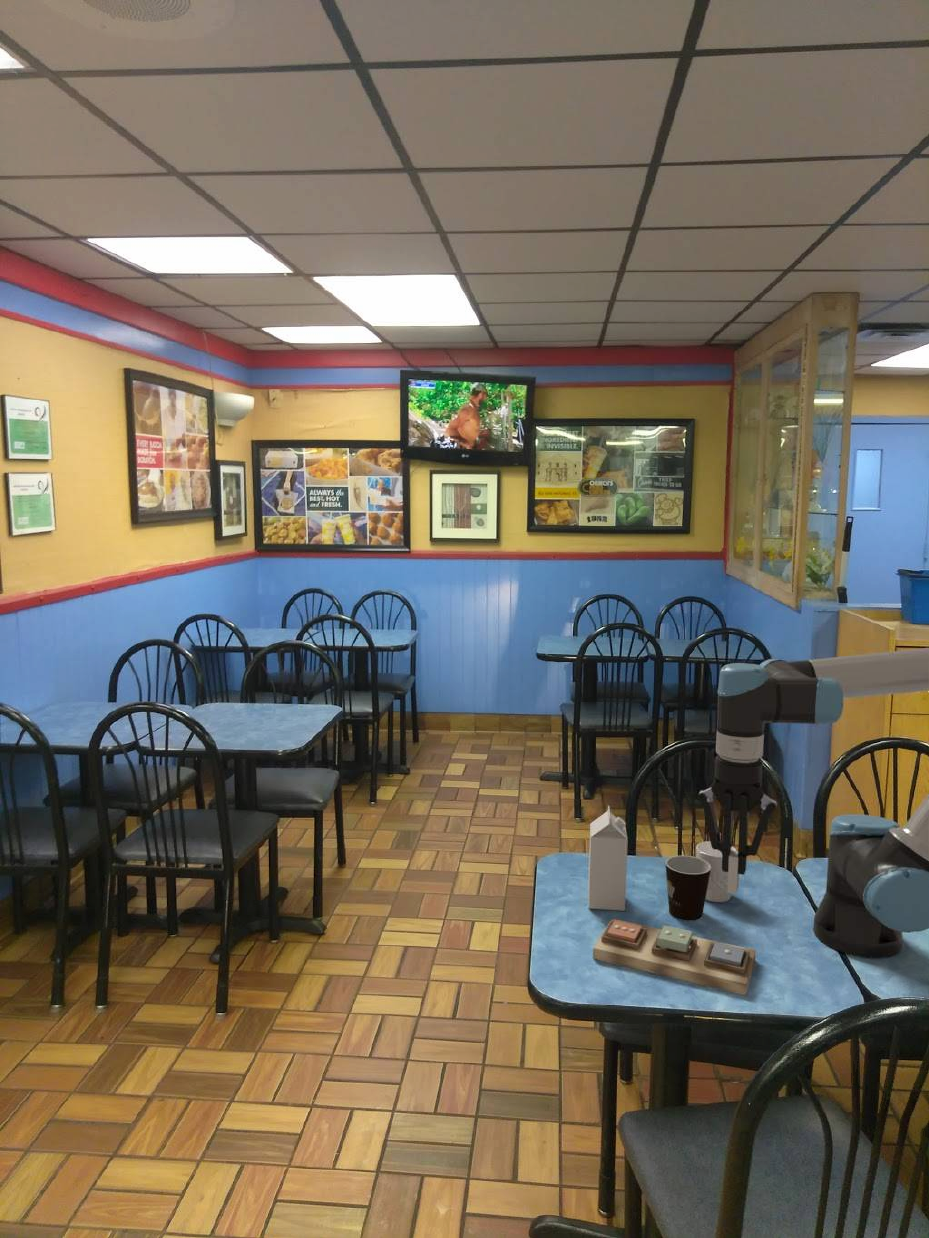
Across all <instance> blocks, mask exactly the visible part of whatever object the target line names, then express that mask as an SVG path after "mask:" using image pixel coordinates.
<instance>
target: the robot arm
mask: <svg viewBox="0 0 929 1238" xmlns="http://www.w3.org/2000/svg"><path fill="white" fill-rule="evenodd" d="M920 692H921V693H923V692H929V647H924V648H913V649H903V650H894V651H883V652H874V653H866V654H865V653H864V654H863V653H862V654H855V655H847V656H846V655H844V656H835V657H826V658H816V659H808V660H795V661H786V660H784V659H781V658H780V659H778V658H769V659H767V660H764V661H763V662H761V663H760V664H756V663H746V662H732V663H728V664H725V665H724V666H722V667H721V669H720V671H719V679H718V688H717V721H716V722H717V725H716V736H715V737H716V739H715V753H716V754H717V755H716V756H715V761H714V779H713V781H712V784H711V785H710V787H709V788H707V789H700V791H699V793H698V794H697V800H698V801H699V802H700V804H701V806H702V808H703V812H704V818H705V823H706V827H707V831H708V832H707V833H708V836H709V841H710V842H711V846H712V848H713V849H715V850H716V849H717V850H719V851H720V852H721V853H722V870H723V872H728V888H727V893H731V895H737V893H738V891H739V887H740V886H739V885H740V882H739V881H740V880H739V879H740V875H744V876H745V874H746V870H747V857H749V856H757V854H758V851H759V847H760V845H761V843H762V842H761V841H762V840H763V839H762V838H763V835H764V833H765V830H766V827H767V823H768V820H769V817H770V816H772V814H773V813H774V811H776V809H777V805H778V800H777V799H775V798H770V797H769V796H768V795H767V794H765V790H764V787H763V782H762V781H763V778H762V777H763V760H762V759H761V758H762V757H763V756H764V743H765V742H764V741H765V740H764V739H765V724H766V723H769V724H809V725H810V724H811V725H816V726H817V725H818V726H819V725H823V724H825V725H826V724H834V723H837V722H838V721H839V720H840V719H841V717H842V714H843V711H844V699H855V698H866V697H867V698H868V697H876V696H877V697H878V696H887V695H897V694H898V695H899V694H910V693H920ZM714 796H715V798H716V800H717V801H718V803H719V804H720V805H721V807H722V808H723V825H722V839H721V836H720V831H719V826H718V822H717V818H716V812H715V807H714V802H713V800H714ZM759 802H761V804H760V809H761V810H762V811H761V815H760V818H759V820H758V824H757V826H756V830H755V832H754V836H753V839H752V841H751V844H749V843H748V842H749V841H748V840H749V823H750V822H749V819H750V818H749V817H750V812H751V810H753V808H755V807H756V806H757V804H758V803H759ZM734 812H738V813H739V814H738V815H739V816H738V818H739V820H738V821H739V824H738V825H739V826H738V842H737V843H738V847H737V849H738V850H736V851H732V850H731V847H733V845H732V844H733V843H732V842H733V822H734V819H733V818H734ZM828 835H829V843H828V857H827V870H826V871H827V874H826V890H825V893H824V895H823V897H822V899H821V901H820V903H819V906H818V907H817V910H816V913H815V915H814V917H813V927H812V930H813V933H814V935H815V937H816V938H817V937H818V938H819V939H818V938H817V939H818V940H820V941H821V942H822V943H823V944H825V945H827V946H828V947H830V948H832V949H835V950H837V951H839V952H842V953H845V954H848V955H851V956H852V955H853V956H856V957H863V958H873V959H879V958H889V957H892V956H895V955H897V954H898V953H899V952H901V950H902V948H903V940H904V939H903V933H914V932H918V933H919V932H923V931H926V930H928V929H929V793H928V794H927V796H925V798H924V799H923V801H922V802H921V803H920V804H919V805H918V807H917V808H916V810H915V811H914V812H913V814H912V815H911V816H910V818H909V819H908V820H907V821H906V824H904V826H900V824H899V823H898V822H896V821H894V820H892V819H889V818H885V817H882V816H875V815H869V814H858V813H857V814H855V813H853V814H851V813H850V814H842V815H837V816H835V817H834V818H833V819H832V821H831V825H830V830H829V832H828ZM748 844H749V845H748Z"/></svg>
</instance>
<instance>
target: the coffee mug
mask: <svg viewBox="0 0 929 1238" xmlns="http://www.w3.org/2000/svg"><path fill="white" fill-rule="evenodd" d="M664 864H665V875H666V877H665V878H666V888H667V889H666V890H667V902H668V903H667V904H668V913H669V914H670V915H671V916H672V917H673V918H675V919H677V920H680V921H686V922H692V921H693V922H694V921H698V920H700V919H702V917H703V914H704V909H705V903H706V900H705V898H706V893H707V887H708V882H709V876H710V871H711V866H710V864H709V863H708V862H706V861H705V860H702V859H700V858H696V856H691V855H674V856H671V857H667V859H666V860H665V863H664Z"/></svg>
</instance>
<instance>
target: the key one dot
mask: <svg viewBox="0 0 929 1238" xmlns="http://www.w3.org/2000/svg"><path fill="white" fill-rule="evenodd" d="M730 945H731V944H730ZM730 945H725V944H720V943H716V942H715V944H714V946H713V949H712V952H711V954H710V960H712V961H717V962H721V963H726V964H730V965H734V966H739V967H741V966H742V962H743V959H744V951H745V949H743V948H739V947H740V946H739V947H734V946H730Z"/></svg>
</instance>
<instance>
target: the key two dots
mask: <svg viewBox="0 0 929 1238" xmlns="http://www.w3.org/2000/svg"><path fill="white" fill-rule="evenodd" d="M692 936H693V931H692V930H688V929H683V928H677V927H673V926H668V925H663V926H662V930H661V932H660V934H659V936H658V941H657V946H660V947H664V948H669V949H673V950H677V951H682V952H687V949H688V947H689V945H690V943H691V940H692Z"/></svg>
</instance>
